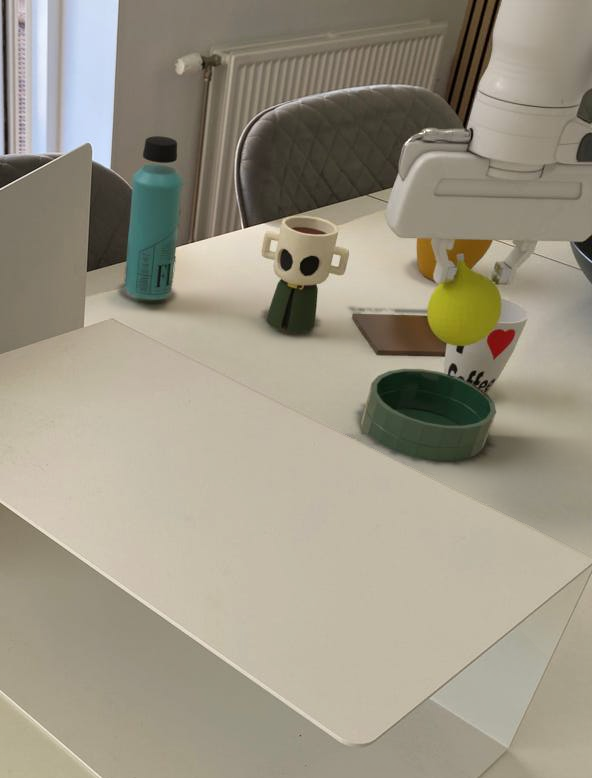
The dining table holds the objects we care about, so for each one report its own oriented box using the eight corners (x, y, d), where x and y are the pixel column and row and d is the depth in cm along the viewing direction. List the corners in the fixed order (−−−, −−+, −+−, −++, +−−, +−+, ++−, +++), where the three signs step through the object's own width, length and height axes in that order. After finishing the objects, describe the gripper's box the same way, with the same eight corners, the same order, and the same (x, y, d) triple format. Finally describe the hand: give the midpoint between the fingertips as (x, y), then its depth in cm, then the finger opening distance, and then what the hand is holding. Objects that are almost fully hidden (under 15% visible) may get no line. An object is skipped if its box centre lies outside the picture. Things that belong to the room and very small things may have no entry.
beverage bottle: (154, 315, 129) (172, 150, 116) (112, 301, 131) (124, 138, 118) (179, 300, 133) (199, 139, 120) (138, 287, 136) (152, 127, 122)
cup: (427, 393, 118) (452, 312, 111) (436, 366, 124) (460, 288, 117) (496, 410, 116) (526, 328, 110) (502, 382, 122) (531, 303, 115)
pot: (454, 409, 116) (468, 369, 112) (499, 470, 106) (516, 429, 102) (346, 408, 114) (356, 367, 111) (381, 469, 104) (394, 427, 101)
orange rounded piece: (494, 286, 146) (525, 195, 137) (437, 295, 142) (465, 201, 133) (445, 259, 153) (471, 170, 144) (389, 266, 149) (413, 175, 140)
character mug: (241, 326, 128) (258, 223, 120) (258, 307, 133) (276, 207, 125) (322, 347, 125) (346, 243, 117) (336, 327, 130) (360, 226, 122)
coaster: (429, 319, 135) (430, 315, 134) (459, 356, 127) (460, 352, 126) (351, 317, 133) (352, 313, 133) (376, 354, 125) (377, 350, 125)
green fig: (405, 333, 104) (431, 236, 97) (455, 323, 106) (484, 228, 100) (451, 362, 99) (482, 262, 92) (503, 351, 102) (536, 253, 95)
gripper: (419, 137, 86) (381, 293, 95) (638, 144, 88) (581, 296, 97) (396, 117, 91) (362, 268, 100) (604, 125, 93) (552, 271, 102)
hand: (471, 282), depth 99 cm, fingers closed on green fig, 5 cm apart
